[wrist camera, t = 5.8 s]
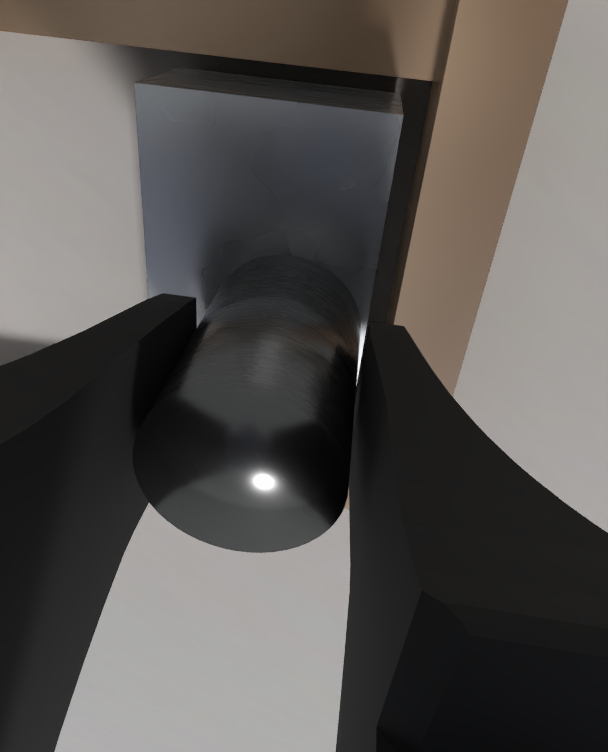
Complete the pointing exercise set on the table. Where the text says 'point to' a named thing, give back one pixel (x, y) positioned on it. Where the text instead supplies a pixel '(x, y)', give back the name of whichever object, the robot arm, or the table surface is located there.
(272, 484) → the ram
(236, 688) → the table surface
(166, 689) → the table surface
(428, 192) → the wooden tray
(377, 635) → the robot arm
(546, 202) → the table surface
